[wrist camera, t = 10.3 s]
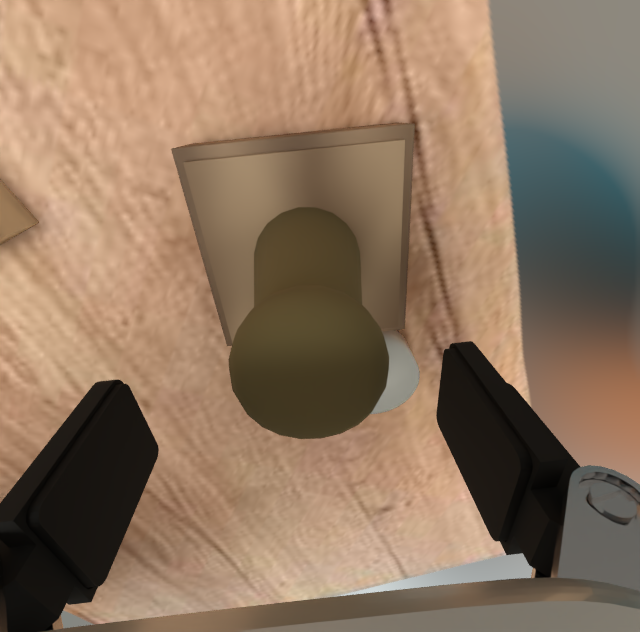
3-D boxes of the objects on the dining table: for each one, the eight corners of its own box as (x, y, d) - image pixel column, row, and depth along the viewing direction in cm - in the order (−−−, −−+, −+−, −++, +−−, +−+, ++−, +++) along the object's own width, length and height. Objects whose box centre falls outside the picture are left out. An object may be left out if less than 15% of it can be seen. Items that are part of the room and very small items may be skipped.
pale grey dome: (329, 392, 30) (331, 418, 27) (322, 326, 26) (324, 349, 24) (407, 384, 30) (416, 409, 27) (410, 317, 26) (422, 339, 24)
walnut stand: (236, 319, 26) (225, 351, 22) (191, 144, 19) (166, 149, 16) (393, 304, 25) (406, 333, 22) (398, 122, 19) (418, 124, 16)
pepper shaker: (381, 260, 19) (456, 397, 10) (308, 324, 21) (310, 489, 12) (306, 181, 17) (309, 261, 8) (231, 261, 19) (159, 404, 10)
